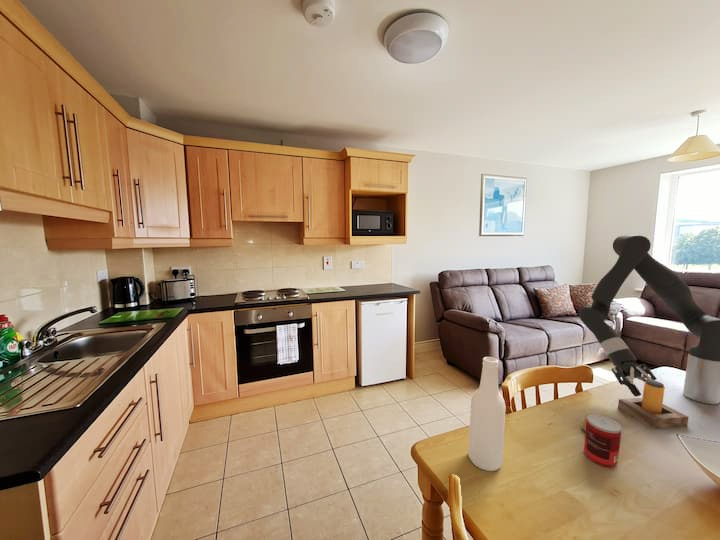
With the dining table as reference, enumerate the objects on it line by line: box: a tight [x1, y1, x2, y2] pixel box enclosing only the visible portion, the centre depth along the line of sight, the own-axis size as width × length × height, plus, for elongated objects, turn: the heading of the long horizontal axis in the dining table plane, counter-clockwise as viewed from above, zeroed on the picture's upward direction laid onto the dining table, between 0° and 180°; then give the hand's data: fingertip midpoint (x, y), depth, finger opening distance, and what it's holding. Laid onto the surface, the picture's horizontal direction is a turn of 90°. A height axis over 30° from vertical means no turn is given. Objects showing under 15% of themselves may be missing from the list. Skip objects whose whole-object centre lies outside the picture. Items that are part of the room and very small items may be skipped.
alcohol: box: [467, 356, 507, 472], centre depth 81 cm, size 9×9×30 cm
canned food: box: [583, 413, 622, 468], centre depth 83 cm, size 8×8×11 cm
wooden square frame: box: [617, 397, 689, 430], centre depth 103 cm, size 13×12×4 cm
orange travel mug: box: [641, 379, 666, 414], centre depth 103 cm, size 5×5×13 cm
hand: (647, 394), depth 104 cm, fingers open, 8 cm apart
